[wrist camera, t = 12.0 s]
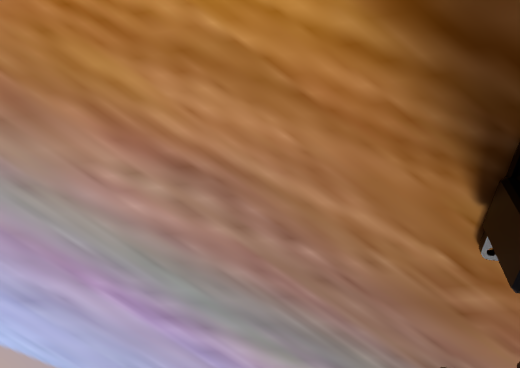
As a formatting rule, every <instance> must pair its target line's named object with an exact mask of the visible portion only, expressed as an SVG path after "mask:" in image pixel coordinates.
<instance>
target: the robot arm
mask: <svg viewBox="0 0 520 368" xmlns="http://www.w3.org/2000/svg"><path fill="white" fill-rule="evenodd" d="M483 228H484V230H485V232H484V234H483V237H482V239H481V242H480V244H479V250H480V252H481V255H482V257H484V258H485V259H488V260H496V261H499V263H500V265H501V267H502V269H503V272H504V274H505V276H506V278H507V280H508V283H509V285H510V287H511V288H512V289H513V290H514V292H515V293H520V143H519V145H518V148H517V150H516V153H515V155H514V158H513V160H512V163H511V166H510V168H509V171H508V173H507V176H506V177H505V178H504V179H503V180H501V181H500V183H499V185H498V188H497V190H496V193H495V195H494V198H493V201H492V203H491V206H490V208H489V211H488V213H487V216H486V219H485V221H484V224H483ZM490 248H493V249H492V250H488V249H490ZM441 368H445V367H441ZM517 368H520V362H519V363H518V364H517Z"/></svg>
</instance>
